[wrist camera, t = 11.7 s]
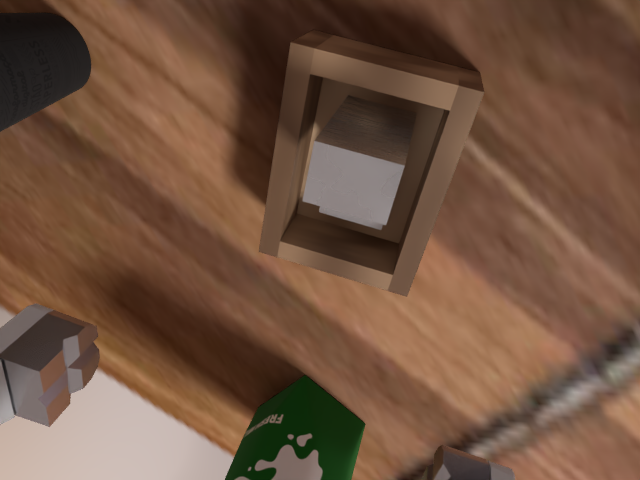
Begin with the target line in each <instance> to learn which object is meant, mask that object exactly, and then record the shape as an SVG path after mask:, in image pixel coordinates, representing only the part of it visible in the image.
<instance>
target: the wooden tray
mask: <svg viewBox="0 0 640 480" xmlns="http://www.w3.org/2000/svg"><path fill="white" fill-rule="evenodd" d="M348 95H349V96H353V97H357V98H361V99H365V100H368V101H372V102H376V103H380V104H383V105H387V106H391V107H395V108H399V109H402V110H406V111H410V112H414V113H417V114H416V119H415V123H414V127H413V132H412V136H411V141H410V145H409V149H408V154H407V158H406V162H405V167H404V170H403V173H402V176H401V179H400V183H399V186H398V189H397V192H396V195H395V198H394V202H393V205H392V208H391V211H390V214H389V218H388V221H387V224H386V225H383V226H382V229H381V230H379V229H375V228H372V227H368V226H365V225H362V224H358V223H355V222H351V221H348V220H344V219H341V218H337V217H334V216H331V215H327V214H324V213H320V212H319V209H320V206H317V205H314V204H310V203H307V202H303V196H304V191H305V186H306V180H307V175H308V170H309V165H310V160H311V155H312V150H313V145H314V141H315V139H316V138H317V136H318V135H319V134H320V132H321V131H322V130H323V128H324V127H325V126H326V124H327V123H328V122H329V120H330V119H331V118H332V116H333V115H334V113H335V112H336V111H337V109H338V108H339V107H340V105H341V104H342V103H343V101H344V100H345V99H346V97H347V96H348ZM483 95H484V88H483V84H482V80H481V75H480V72H477V71H473V70H469V69H465V68H461V67H457V66H453V65H449V64H446V63H442V62H438V61H434V60H430V59H426V58H422V57H418V56H414V55H410V54H406V53H402V52H398V51H394V50H391V49H387V48H383V47H379V46H375V45H371V44H367V43H363V42H359V41H355V40H351V39H347V38H343V37H339V36H336V35H332V34H328V33H324V32H320V31H316V30H312V31H310V32H308V33H307V34H305V35H303V36H301V37H299V38H297V39H296V40H294V41H292V42H291V43H290V50H289V56H288V63H287V69H286V76H285V82H284V89H283V96H282V102H281V109H280V115H279V122H278V128H277V135H276V142H275V148H274V155H273V161H272V168H271V174H270V181H269V188H268V194H267V201H266V207H265V214H264V221H263V227H262V234H261V240H260V247H259V252H261V253H265V254H268V255H271V256H274V257H278V258H281V259H284V260H288V261H291V262H294V263H298V264H301V265H304V266H307V267H311V268H314V269H317V270H321V271H324V272H327V273H331V274H334V275H337V276H340V277H344V278H347V279H350V280H354V281H357V282H360V283H364V284H367V285H370V286H373V287H377V288H380V289H383V290H387V291H390V292H393V293H396V294H400V295H403V296H406V297H407V295H408V293H409V290H410V287H411V285H412V282H413V279H414V277H415V274H416V272H417V269H418V266H419V264H420V261H421V258H422V256H423V253H424V250H425V248H426V245H427V242H428V240H429V237H430V235H431V232H432V229H433V227H434V224H435V221H436V219H437V216H438V213H439V211H440V208H441V206H442V203H443V200H444V198H445V195H446V192H447V190H448V187H449V184H450V182H451V179H452V176H453V174H454V171H455V169H456V166H457V163H458V161H459V158H460V155H461V153H462V150H463V147H464V145H465V142H466V140H467V137H468V134H469V132H470V129H471V126H472V124H473V121H474V118H475V116H476V113H477V110H478V108H479V105H480V103H481V100H482V97H483Z"/></svg>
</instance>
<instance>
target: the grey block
mask: <svg viewBox="0 0 640 480" xmlns="http://www.w3.org/2000/svg"><path fill="white" fill-rule="evenodd" d="M416 114H417V113H414V112H410V111H406V110H402V109H399V108H395V107H391V106H387V105H383V104H380V103H376V102H372V101H368V100H365V99H361V98H357V97H353V96H349V95H348V96H347V97H346V99H345V100H344V101H343V103H342V104H341V105H340V107H339V108H338V109H337V111H336V112H335V113H334V115H333V116H332V118H331V119H330V120H329V122H328V123H327V124H326V126H325V127H324V128H323V130H322V131H321V132H320V134H319V135H318V136H317V138H316V139H315V141H314V145H313V150H312V155H311V160H310V165H309V170H308V175H307V180H306V186H305V191H304V196H303V202H307V203H310V204H314V205H317V206H320V209H319V212H320V213H324V214H327V215H331V216H334V217H337V218H341V219H344V220H348V221H351V222H355V223H358V224H362V225H365V226H368V227H372V228H375V229H379V230H381V229H382V226H383V225H386V224H387V221H388V218H389V214H390V211H391V208H392V205H393V202H394V198H395V195H396V192H397V189H398V186H399V183H400V179H401V176H402V173H403V170H404V167H405V162H406V158H407V154H408V149H409V145H410V141H411V136H412V132H413V127H414V123H415V119H416Z"/></svg>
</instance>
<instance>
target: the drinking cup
mask: <svg viewBox="0 0 640 480" xmlns="http://www.w3.org/2000/svg"><path fill="white" fill-rule="evenodd" d="M90 71H91V59H90V54H89V51H88V48H87V45H86V43H85V41H84V40H83V38H82V36H81V35H80V33H79V32H78V31H77V30H76V29H75V27H74V26H73V25H72V24H70V23H69V22H68V21H66V20H65V19H63V18H62V17H60V16H58V15H55V14H51V13H0V132H1V131H2V130H4V129H6V128H8V127H10V126H12V125H14V124H15V123H17V122H19V121H21V120H23V119H25V118H27V117H28V116H30V115H32V114H34V113H36V112H38V111H40V110H41V109H43V108H45V107H47V106H49V105H51V104H53V103H54V102H56V101H58V100H60V99H62V98H64V97H66V96H67V95H69V94H71V93H73V92H75V91H77V90H79V89H80V88H82V87H83V86H84V85H85V84H86V82H87V80H88V78H89V76H90Z"/></svg>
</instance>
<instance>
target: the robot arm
mask: <svg viewBox="0 0 640 480" xmlns="http://www.w3.org/2000/svg"><path fill="white" fill-rule="evenodd" d="M97 337H98V332H97V326H95V325H92V324H90V323H87V322H84V321H82V320H79V319H77V318H74V317H71V316H69V315H66V314H63V313H61V312H58V311H55V310H53V309H50V308H47V307H44V306H41V305H39V304H33V305H30V306H27V307H26V308H25V309H24V310H22V311H21V312H20V313H19V314H17V315H16V316H15V317H14V318H12V319H11V320H10V321H9V322H7V323H6V324H5V325H4V326H2V327H1V328H0V424H3V423H5V422H7V421H9V420H10V419H12V418H14V417H15V416H14V415H16V416H19V417H22V418H25V419H28V420H31V421H34V422H37V423H40V424H43V425H46V426H48V427H50V426H51V425H52V424H53V422H54V421H55V420H56V419H57V418H58V417H59V416H60V414H61V413H62V412H63V411H64V410H65V409H66V408H67V406H68V405H69V404H70V395H71V393H73V392H76V391H78V390H81V389H83V388H84V387H85V386H86V385H87V383H88V382H89V381H90V380H91V378H92V376H93V375H94V373H95V371H96V369H97V367H98V363H99V358H100V355H99V349H98V348H97V346H96V345H95V344H94V342H93V341H94V340H95V339H96V338H97ZM422 480H515V474H514V472H513V470H512V469H510V468H508V467H505V466H502V465H499V464H496V463H493V462H490V461H487V460H486V459H483V458H480V457H477V456H474V455H471V454H468V453H465V452H462V451H459V450H456V449H453V448H450V447H447V446H444V445H441V446H439V447H438V449H437V450H436V452H435V454H434V464H432V465H429V466H427V468H426V470H425V472H424V474H423V477H422Z"/></svg>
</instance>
